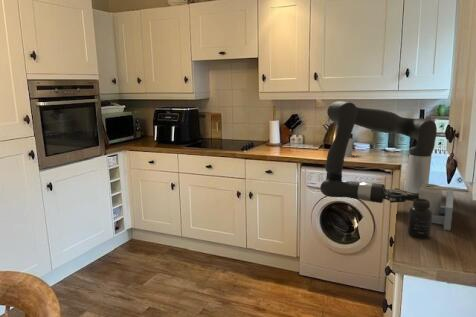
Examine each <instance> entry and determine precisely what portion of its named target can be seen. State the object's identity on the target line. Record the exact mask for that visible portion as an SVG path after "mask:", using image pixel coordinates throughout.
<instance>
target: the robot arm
mask: <svg viewBox="0 0 476 317" xmlns="http://www.w3.org/2000/svg"><path fill="white" fill-rule="evenodd" d="M326 111H327V112H326V113H327V117H328V118H329V120H330V121H332V122H333V123H336V124H337V133H336V135H335V138H334V140H333V142H332V143H331V145H330V148H329V149H328V152H327V155H326V163H325V172H326V176H325V180H323V182H321V184H320V192H321V193H322V194H323V195H324V196H326V197H330V198H348V199H353V200H361V201H365V202H371V203H378V204H383V203H384V200H386V201H389V202H390V203H394V204H395V203H405V202H407V201H411V202H413V201H414V199H419V191H420V188H421V187H422V185H423V184H430V175H431V174H430V173H431V163H432V153H433V151H434V149H435V147H436V146H435V145H436V140H437V138H436V137H437V134H438V133H437V130H438V129H437V123H436V122H434V121H433V120H431V119H424V118H409V117H403V116H400V115H398V114H396V113H395V112H392V111H389V110H384V109H378V108H377V109H376V108H369V107H367V108H366V107H357V106H356V104H354V103H353V102H350V101H342V100H338V101H333V102H332V103H331V104H330V105H329V106H328V108H327V110H326ZM355 125H356V126H359V127H362V128H365V129H367V130H371V131H375V132H379V133H385V134H386V133H387V134H400V135H404V136H406V137H408V138H412V139H415V140H417V143H416V145H415V146H411V147H410V148H409V150H408V159H407V160H408V162H407V172H406V182H405V190H404V189H403V190H402V189H400V188H389V189H386V185H385V184H383V183H376V182H365V181H364V182H363V181H362V182H360V181H352V180H349V181H343V168H344V162H345V158H346V157H345V153H346V148H347V145H348V142H349V139H350V136H351V134H353V133H352V132H353V129H354V127H355Z"/></svg>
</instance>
